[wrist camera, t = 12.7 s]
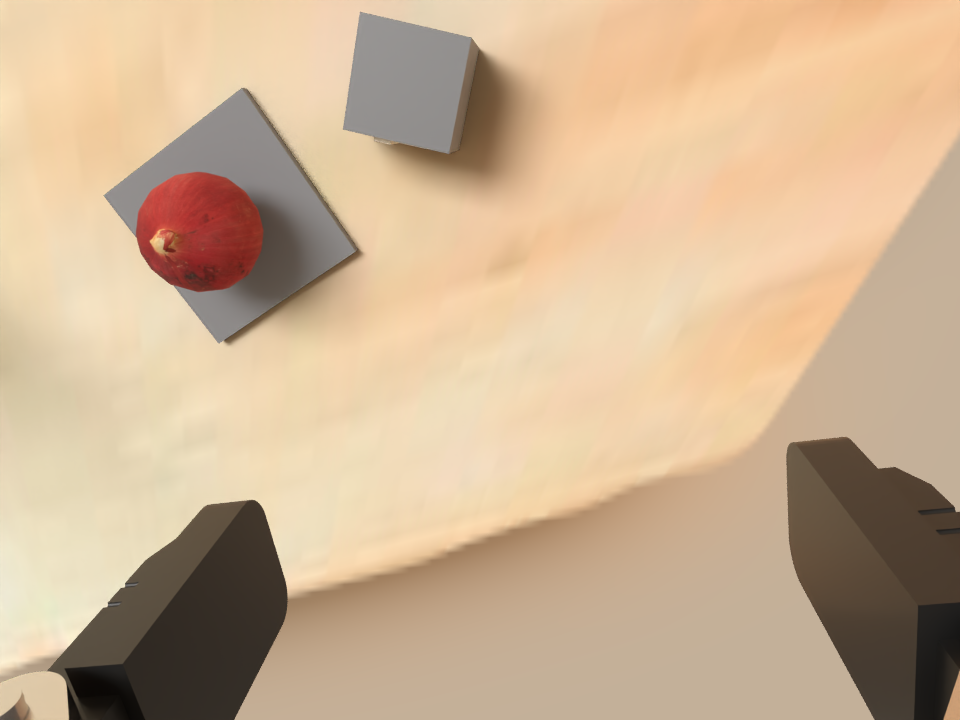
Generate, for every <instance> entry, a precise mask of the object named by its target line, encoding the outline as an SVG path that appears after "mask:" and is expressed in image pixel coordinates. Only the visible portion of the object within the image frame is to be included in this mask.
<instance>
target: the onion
mask: <svg viewBox="0 0 960 720" xmlns="http://www.w3.org/2000/svg"><path fill="white" fill-rule="evenodd" d="M263 231H264V230H263V226H262V223H261V219H260V215H259V211H258V209H257V207H256V206H255V205H254V203H253V202H252V200H251V199H250V198H249V196H248V195H247V193H246V192H245V191H244V190H243V189H241V188H240V187H239V186H237V185H236V184H235V183H233V182H232V181H230V180H229V179H228V178H226V177H222V176H218V175H214V174H210V173H206V172H192V173H185V174H179V175H175V176H173V177H171V178H170V179H168V180H166V181H165V182H163V183H162V184H160V185H158V186H157V187H155V188H154V189H152V190H151V191H150V193H149V194H148V196H147V198H146V199H145V201H144V203H143V204H142V206H141V208H140V209H139V211H138V218H137V227H136V237H137V241H138V245H139V248H140V252H141V254H142V256H143V257H144V259H145V260H146V262H147V263H148V265H149V266H150V268H151V269H152V270H153V271H154V272H155V273H157V274H158V275H159V276H160V277H162V278H163V279H164V280H165V281H167V282H168V283H169V284H171V285H174V286H178V287H181V288H185V289H188V290H192V291H195V292H205V291H214V290H223V289H227V288H230V287H231V286H233V285H234V284H235V283H237V282H238V281H240V280H241V279H243V278H244V277H246V276H247V275H249V273H250V272H251V270H252V268H253V266H254V264H255V262H256V260H257V258H258V256H259V254H260V252H261V249H262V240H263Z"/></svg>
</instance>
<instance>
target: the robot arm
mask: <svg viewBox="0 0 960 720" xmlns="http://www.w3.org/2000/svg"><path fill="white" fill-rule="evenodd" d="M787 491H788V522H789V542H790V550H791V555H792V560H793V564H794V567H795V570H796V573H797V576H798V579H799V581H800V583H801V585H802V587H803V589H804V591H805V593H806V594H807V596H808V598H809V600H810V602H811V603H812V605H813V607H814V609H815V611H816V613H817V615H818V616H819V618H820V620H821V622H822V624H823V626H824V627H825V629H826V631H827V633H828V635H829V636H830V638H831V640H832V642H833V644H834V646H835V648H836V649H837V651H838V653H839V655H840V657H841V659H842V661H843V662H844V664H845V666H846V668H847V670H848V671H849V673H850V675H851V677H852V679H853V681H854V683H855V684H856V686H857V688H858V690H859V691H860V694H861V696H862V697H863V699H864V701H865V703H866V705H867V707H868V708H869V710H870V712H871V714H872V716H873V718H874V719H875V720H960V512H956V511H955V507H954V506H953V505H952V504H951V503H950V502H949V501H948V500H947V499H945V497H944V496H943V495H941V494H940V493H939V492H938V491H937V490H936V489H935V488H934V487H933V486H932V485H931V484H929V483H927V482H925V481H923V480H921V479H919V478H917V477H914V476H912V475H910V474H908V473H906V472H904V471H902V470H900V469H898V468H896V467H893V468H882V469H878V468H877V467H876V466H875V465H874V464H873V463H872V462H871V461H870V460H869V459H868V458H867V457H866V456H865V454H864V453H863V452H862V451H861V450H860V449H859V448H858V447H857V446H856V445H855V444H854V443H853V442H852V441H851V440H850V439H849V438H847V437H839V438H830V439H821V440H812V441H803V442H793V443H790V444H789V446H788V449H787ZM286 611H287V587H286V582H285V578H284V575H283V572H282V568H281V565H280V562H279V558H278V555H277V552H276V548H275V545H274V542H273V539H272V535H271V532H270V529H269V525H268V522H267V519H266V515H265V513H264V510H263V508H262V507H261V505H260V504H259V503H258V502H257V501H255V500H247V501H238V502H229V503H220V504H211V505H207V506H205V507H204V508H203V509H202V510H201V511H200V512H199V513H198V514H197V515H196V516H195V518H194V519H193V520H192V521H191V522H190V523H189V525H188V526H187V527H186V528H185V529H184V530H183V532H182V533H181V534H180V535H179V536H178V537H177V538H176V539H175V540H174V541H172V542H171V543H169V544H168V545H167V546H165V547H164V548H162V549H161V550H160V551H158V552H157V553H155V554H154V555H152V556H151V557H150V558H148V559H147V560H145V562H144V563H143V564H142V565H141V566H140V567H139V568H138V569H137V571H136V572H135V573H134V574H133V575H132V576H131V577H130V578H129V580H128V581H127V582H126V583H125V588H121V589H120V590H119V591H118V592H117V593H116V594H115V595H114V596H113V598H112V599H111V600H110V601H109V602H108V607H106V608H103V609H102V610H101V611H100V612H99V613H98V614H97V615H96V617H95V618H94V619H93V620H92V621H91V622H90V623H89V624H88V626H87V627H86V628H85V629H84V630H83V631H82V632H81V633H80V635H79V636H78V637H77V638H76V639H75V640H74V641H73V642H72V644H71V645H70V646H69V647H68V648H67V649H66V650H65V651H64V653H63V654H62V655H61V656H60V657H59V658H58V659H57V660H56V662H55V663H54V664H53V665H52V666H51V667H50V668H49V669H48V671H40V672H32V673H27V674H23V675H20V676H17V677H14V678H11V679H8V680H6V681H3V682H1V683H0V720H234V719H235V717H236V715H237V713H238V711H239V709H240V707H241V705H242V703H243V701H244V699H245V697H246V695H247V693H248V691H249V689H250V687H251V686H252V684H253V681H254V679H255V678H256V676H257V674H258V672H259V670H260V668H261V666H262V664H263V662H264V660H265V658H266V656H267V654H268V652H269V650H270V648H271V646H272V644H273V642H274V641H275V639H276V637H277V635H278V633H279V630H280V629H281V627H282V625H283V622H284V619H285V616H286Z"/></svg>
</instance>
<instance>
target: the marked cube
mask: <svg viewBox="0 0 960 720" xmlns="http://www.w3.org/2000/svg"><path fill="white" fill-rule="evenodd" d="M478 53H479V47H478V46H477V45H476V43H475V42H474V40H473V39H472V38H471V37H466V36H462V35H458V34H453V33H449V32H445V31H440V30H436V29H432V28H427V27H423V26H419V25H415V24H410V23H406V22H402V21H397V20H393V19H389V18H384V17H380V16H376V15H371V14H367V13H363V12H360V16H359V23H358V29H357V36H356V43H355V50H354V57H353V64H352V71H351V78H350V85H349V92H348V99H347V105H346V112H345V119H344V126H343V130H348V131H352V132H356V133H361V134H365V135H369V136H374V141H377V142H381V143H385V144H390V145H391V144H397V143H401V144H405V145H410V146H414V147H418V148H423V149H430V150H434V151H438V152H443V153H447V154H450V153H452V152H455V151H457V150H459V148H460V143H461V138H462V133H463V128H464V123H465V118H466V113H467V108H468V103H469V98H470V93H471V88H472V83H473V78H474V73H475V68H476V63H477V58H478Z"/></svg>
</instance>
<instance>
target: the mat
mask: <svg viewBox="0 0 960 720" xmlns="http://www.w3.org/2000/svg"><path fill="white" fill-rule="evenodd" d="M192 172H206V173H210V174H214V175H218V176H222V177H226V178H228V179H229V180H230V181H232V182H233V183H235V184H236V185H237V186H239V187H240V188H241V189H243V190H244V191H245V192H246V193H247V195H248V196H249V198H250V199H251V200H252V202H253V203H254V205H255V206H256V207H257V209H258V211H259V215H260V219H261V223H262V226H263V230H264V231H263V240H262V249H261V252H260V254H259V256H258V258H257V260H256V262H255V264H254V266H253V268H252V270H251V272H250V273H249V275H247V276H246V277H244V278H243V279H241V280H240V281H238V282H237V283H235V284H234V285H233V286H231V287H230V288H227V289H223V290H214V291H205V292H195V291H192V290H188V289H185V288H181V287H178V286H174V287H175V288H176V289H177V291H178V292H179V293H180V294H181V296H182V297H183V298H184V300H185V301H186V302H187V303H188V305H189V306H190V307H191V308H192V310H193V311H194V312H195V314H196V315H197V316H198V317H199V319H200V320H201V321H202V323H203V324H204V325H205V326H206V328H207V329H208V330H209V332H210V333H211V334H212V335H213V337H214V338H215V339H216V341H217V342H218V343H220V342H222V341H223V340H225V339H226V338H228V337H229V336H231V335H232V334H234V333H235V332H237V331H238V330H240V329H241V328H243V327H244V326H246V325H247V324H249V323H250V322H252V321H253V320H255V319H256V318H258V317H259V316H261V315H262V314H264V313H265V312H267V311H268V310H269V309H271V308H272V307H274V306H275V305H277V304H278V303H280V302H281V301H283V300H284V299H286V298H287V297H289V296H290V295H292V294H293V293H295V292H296V291H298V290H299V289H301V288H302V287H304V286H305V285H307V284H308V283H310V282H311V281H313V280H314V279H316V278H317V277H319V276H320V275H322V274H323V273H325V272H326V271H327V270H329V269H330V268H332V267H333V266H335V265H336V264H338V263H339V262H341V261H342V260H344V259H345V258H347V257H348V256H350V255H351V254H353V253H354V252H356V251H357V250H358V249H357V247H356V246H355V244H354V243H353V241H352V240H351V239H350V237H349V236H348V234H347V233H346V231H345V230H344V229H343V227H342V226H341V224H340V223H339V221H338V220H337V218H336V217H335V216H334V214H333V213H332V211H331V210H330V208H329V207H328V206H327V204H326V203H325V201H324V200H323V198H322V197H321V195H320V194H319V193H318V191H317V190H316V188H315V187H314V185H313V184H312V182H311V181H310V180H309V178H308V177H307V175H306V174H305V172H304V171H303V170H302V168H301V167H300V165H299V164H298V162H297V161H296V159H295V158H294V157H293V155H292V154H291V152H290V151H289V149H288V148H287V147H286V145H285V144H284V142H283V141H282V139H281V138H280V136H279V135H278V134H277V132H276V131H275V129H274V128H273V126H272V125H271V124H270V122H269V121H268V119H267V118H266V116H265V115H264V113H263V112H262V111H261V109H260V108H259V106H258V105H257V103H256V102H255V101H254V99H253V98H252V96H251V95H250V93H249V92H248V90H247V89H245V88H241V89H240V90H239V91H237V92H236V93H235V94H234V95H232V96H231V97H230V98H228V99H227V100H226V101H225V102H223V103H222V104H221V105H219V106H218V107H217V108H216V109H214V110H213V111H212V112H210V113H209V114H208V115H207V116H205V117H204V118H203V119H201V120H200V121H199V122H197V123H196V124H195V125H194V126H192V127H191V128H190V129H188V130H187V131H186V132H185V133H183V134H182V135H181V136H179V137H178V138H177V139H176V140H174V141H173V142H172V143H170V144H169V145H168V146H167V147H165V148H164V149H163V150H161V151H160V152H159V153H158V154H156V155H155V156H154V157H152V158H151V159H150V160H149V161H147V162H146V163H145V164H143V165H142V166H141V167H140V168H138V169H137V170H136V171H134V172H133V173H132V174H131V175H129V176H128V177H127V178H125V179H124V180H123V181H122V182H120V183H119V184H118V185H116V186H115V187H114V188H113V189H111V190H110V191H109V192H107V193H106V194H105V195H104V197H105V198H106V199H107V201H108V202H109V203H110V205H111V206H112V207H113V208H114V210H115V211H116V212H117V214H118V215H119V216H120V217H121V219H122V220H123V221H124V222H125V224H126V225H127V226H128V228H129V229H130V230H131V231H132V233H133V234H134V235H135V237H136V227H137V218H138V211H139V209H140V208H141V206H142V204H143V203H144V201H145V199H146V198H147V196H148V194H149V193H150V191H151V190H152V189H154V188H155V187H157V186H158V185H160V184H162V183H163V182H165V181H166V180H168V179H170V178H171V177H173V176H175V175H179V174H185V173H192ZM136 238H137V237H136Z"/></svg>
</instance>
